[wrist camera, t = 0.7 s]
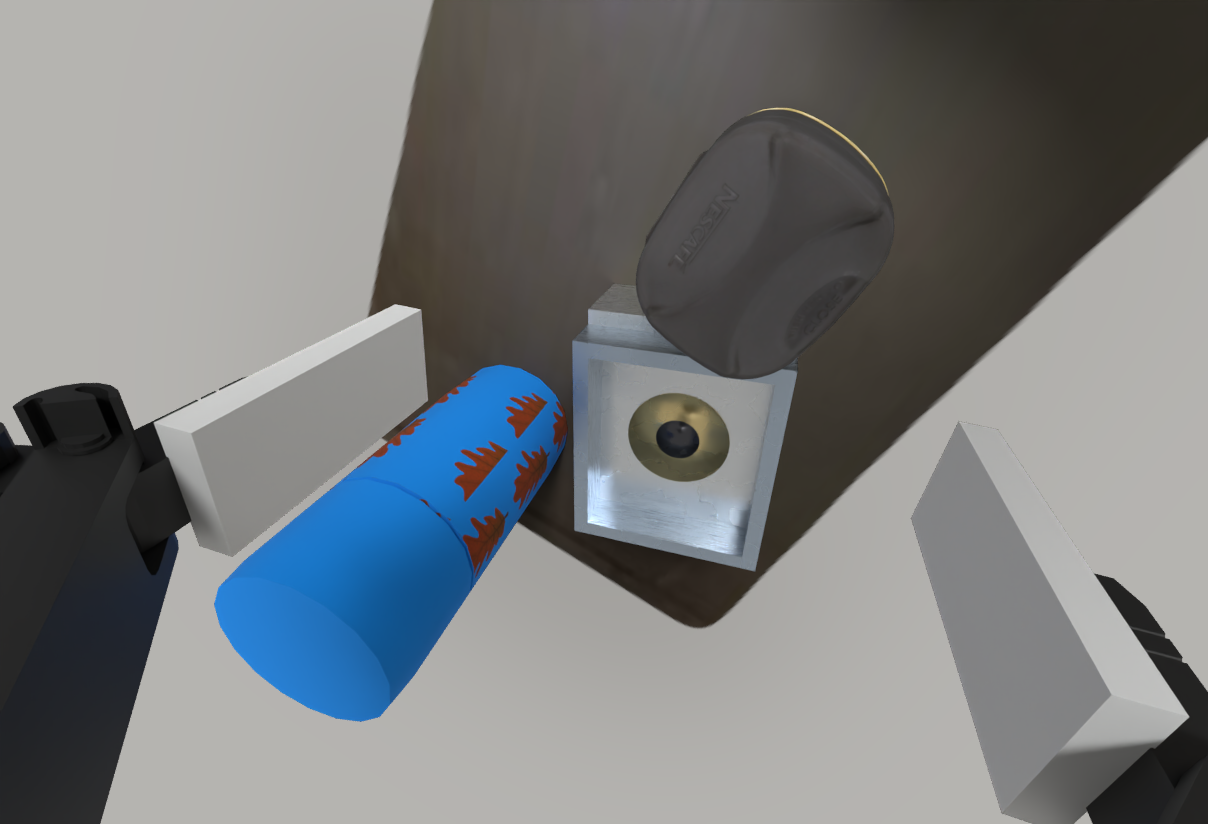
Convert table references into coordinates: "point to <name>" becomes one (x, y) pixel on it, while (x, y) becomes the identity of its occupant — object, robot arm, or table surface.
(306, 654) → the thermos
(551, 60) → the table surface
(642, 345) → the open grey metal box
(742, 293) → the coffee jar
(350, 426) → the robot arm
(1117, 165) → the table surface
